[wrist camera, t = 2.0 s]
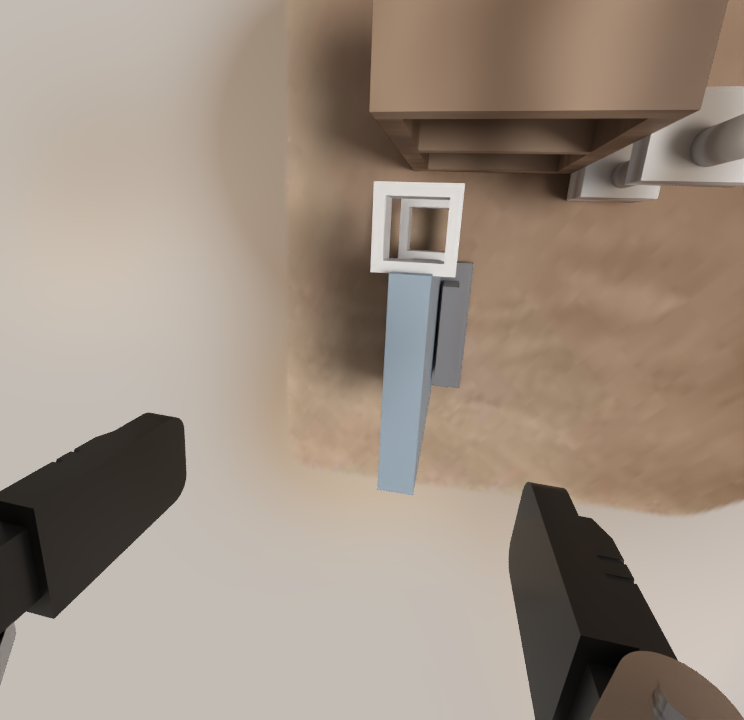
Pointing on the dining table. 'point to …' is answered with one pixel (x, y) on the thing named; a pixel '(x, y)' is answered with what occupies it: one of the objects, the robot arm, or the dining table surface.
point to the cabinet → (559, 92)
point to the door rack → (451, 326)
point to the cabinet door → (410, 320)
